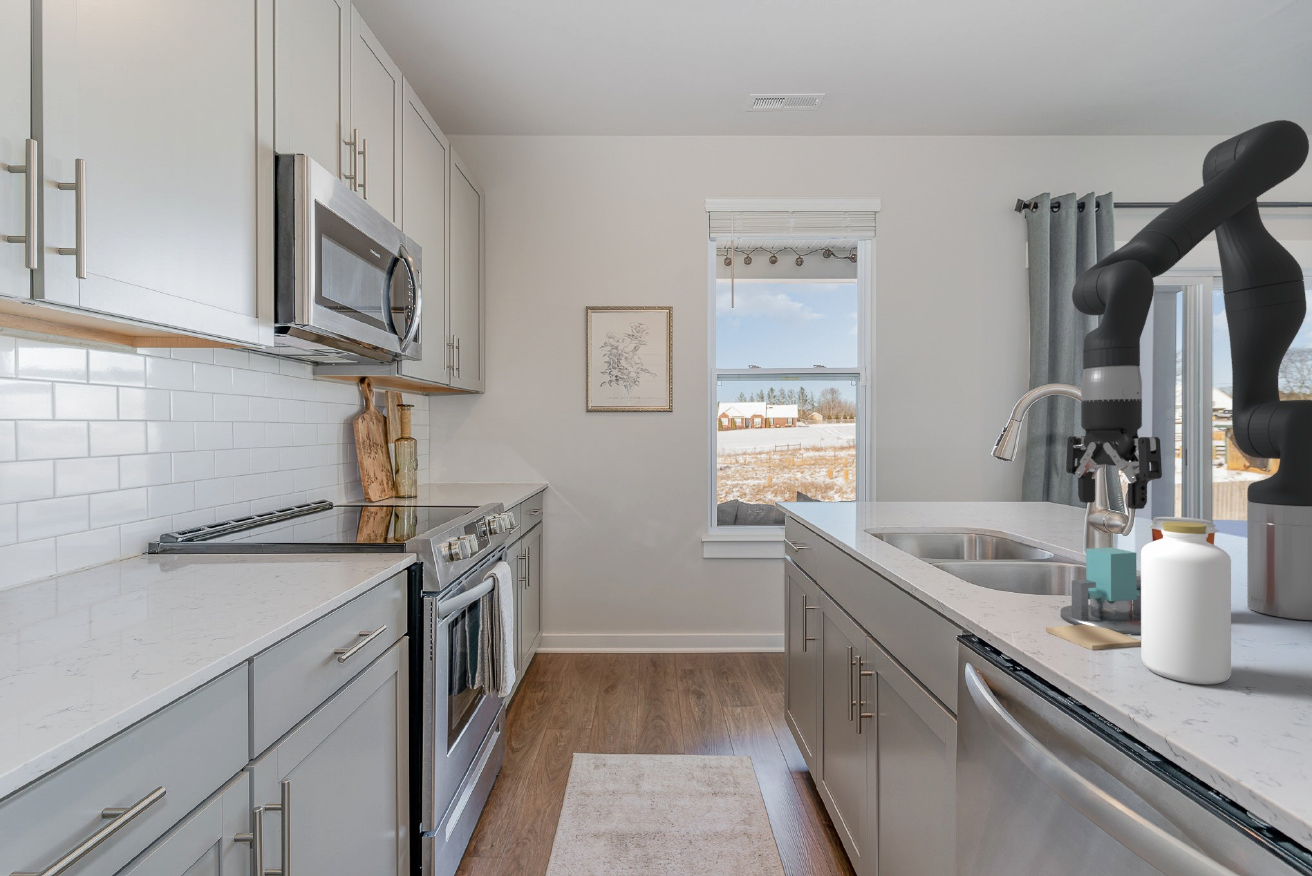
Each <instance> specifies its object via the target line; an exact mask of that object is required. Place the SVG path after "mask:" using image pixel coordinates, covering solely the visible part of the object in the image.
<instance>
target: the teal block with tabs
mask: <svg viewBox="0 0 1312 876" xmlns="http://www.w3.org/2000/svg"><path fill="white" fill-rule="evenodd" d="M1085 550H1086V551H1085V561H1086V562H1085V577H1086V579H1085V580H1090V581H1093V582H1096V588H1088V600H1090V599H1097V598H1102V599H1105V600H1108V601H1123V600H1132V601H1133V600H1137V596H1140V590H1137V583H1136V576H1137V552H1135V551H1130V550H1124V549H1120V548H1115V547H1096V548H1093V547H1091V548H1086V549H1085Z"/></svg>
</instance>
